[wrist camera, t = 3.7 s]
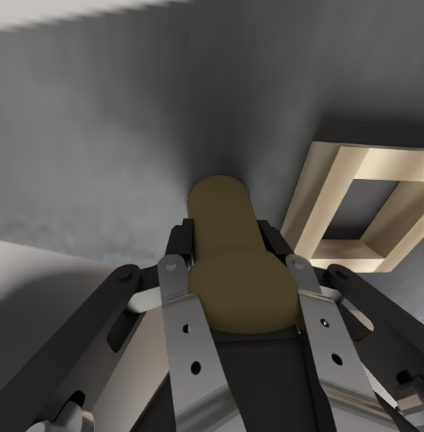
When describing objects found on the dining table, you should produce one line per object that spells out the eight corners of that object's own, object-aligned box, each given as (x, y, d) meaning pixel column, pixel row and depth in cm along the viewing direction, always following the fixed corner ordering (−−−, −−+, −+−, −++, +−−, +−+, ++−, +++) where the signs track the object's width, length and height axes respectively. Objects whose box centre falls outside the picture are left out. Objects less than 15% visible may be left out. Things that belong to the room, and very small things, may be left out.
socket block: (443, 149, 13) (501, 155, 11) (365, 252, 20) (389, 271, 17) (312, 141, 12) (340, 146, 10) (273, 252, 19) (284, 272, 16)
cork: (186, 173, 13) (148, 301, 4) (255, 176, 14) (376, 295, 4) (187, 231, 16) (169, 380, 7) (244, 231, 17) (299, 371, 7)
